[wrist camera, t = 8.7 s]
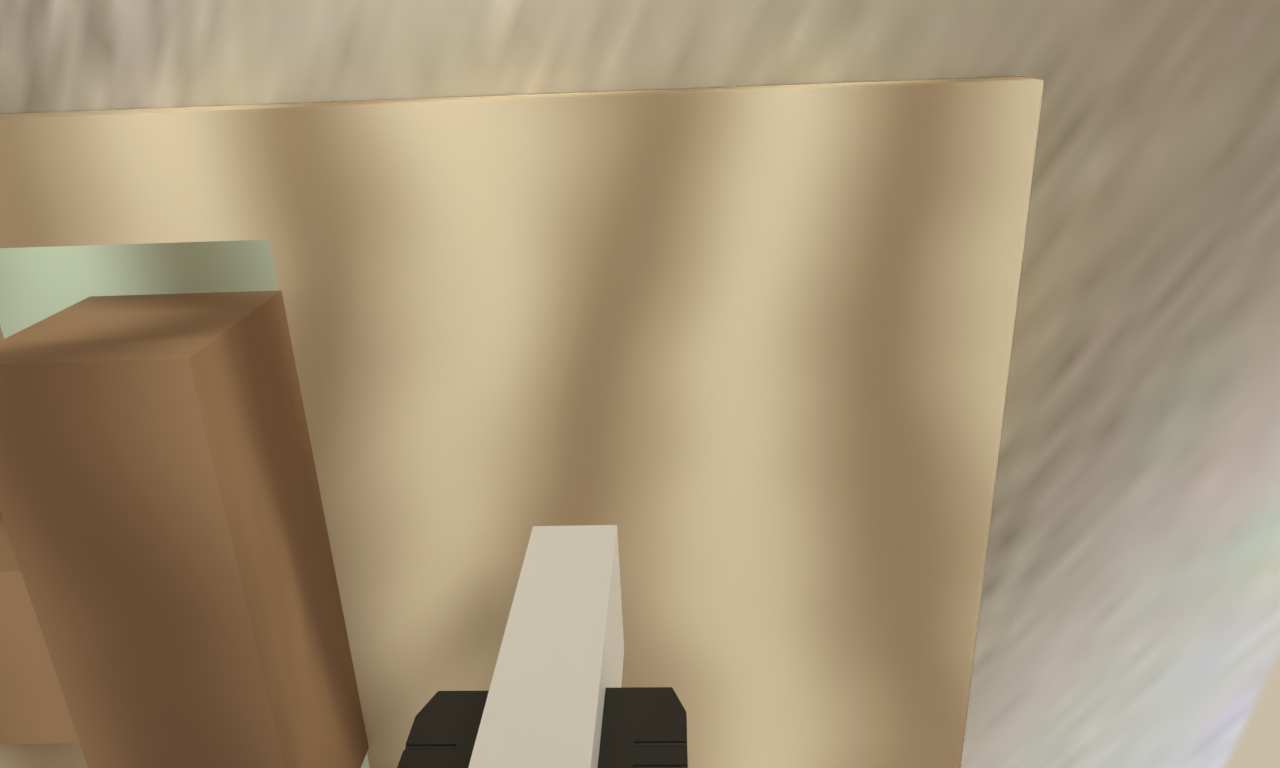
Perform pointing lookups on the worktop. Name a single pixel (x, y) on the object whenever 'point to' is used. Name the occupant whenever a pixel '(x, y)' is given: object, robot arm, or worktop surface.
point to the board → (607, 370)
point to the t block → (168, 542)
